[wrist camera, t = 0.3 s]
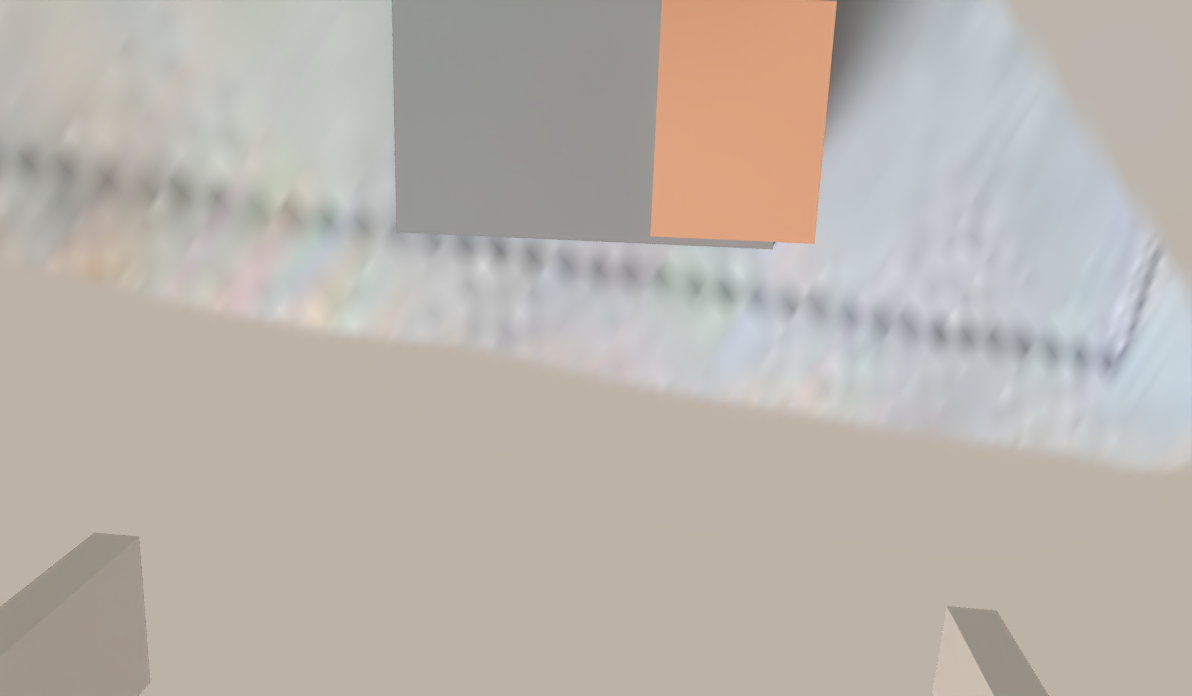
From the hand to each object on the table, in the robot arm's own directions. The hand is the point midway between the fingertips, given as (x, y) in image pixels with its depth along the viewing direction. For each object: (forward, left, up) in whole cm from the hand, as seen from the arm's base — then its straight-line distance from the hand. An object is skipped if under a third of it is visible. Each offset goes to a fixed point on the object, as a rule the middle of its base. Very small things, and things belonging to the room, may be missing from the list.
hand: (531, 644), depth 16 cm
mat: (-8, -2, -28) cm, 29 cm away
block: (-8, +4, -27) cm, 29 cm away
